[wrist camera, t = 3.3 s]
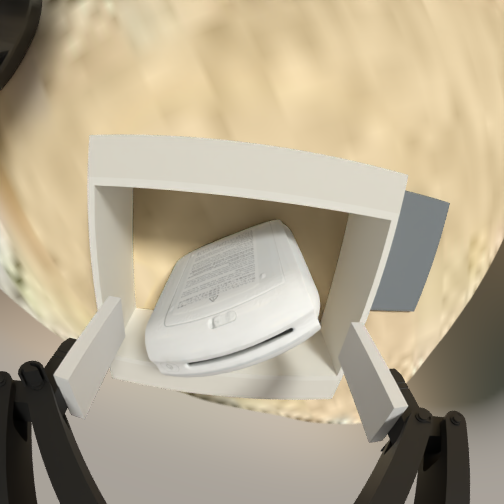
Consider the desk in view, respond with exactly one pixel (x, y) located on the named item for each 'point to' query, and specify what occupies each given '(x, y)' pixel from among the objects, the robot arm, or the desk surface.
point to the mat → (411, 252)
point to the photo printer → (234, 304)
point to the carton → (248, 186)
